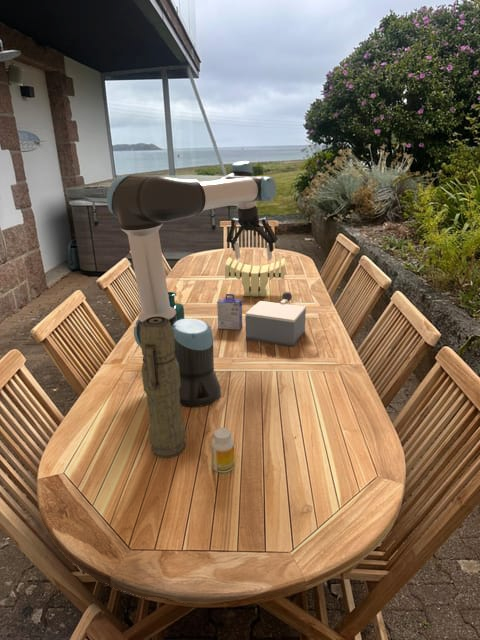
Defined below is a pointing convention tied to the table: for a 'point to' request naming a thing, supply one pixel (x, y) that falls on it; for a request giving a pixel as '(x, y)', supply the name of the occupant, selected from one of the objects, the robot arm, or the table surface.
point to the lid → (277, 310)
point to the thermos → (162, 387)
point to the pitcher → (176, 306)
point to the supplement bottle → (222, 450)
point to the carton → (275, 330)
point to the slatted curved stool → (254, 276)
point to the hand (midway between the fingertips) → (254, 258)
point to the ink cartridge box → (229, 313)
